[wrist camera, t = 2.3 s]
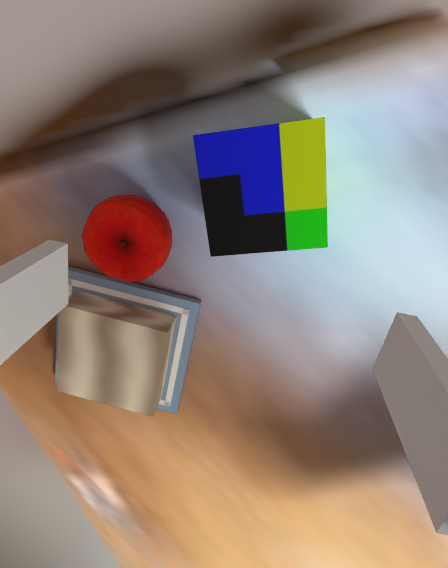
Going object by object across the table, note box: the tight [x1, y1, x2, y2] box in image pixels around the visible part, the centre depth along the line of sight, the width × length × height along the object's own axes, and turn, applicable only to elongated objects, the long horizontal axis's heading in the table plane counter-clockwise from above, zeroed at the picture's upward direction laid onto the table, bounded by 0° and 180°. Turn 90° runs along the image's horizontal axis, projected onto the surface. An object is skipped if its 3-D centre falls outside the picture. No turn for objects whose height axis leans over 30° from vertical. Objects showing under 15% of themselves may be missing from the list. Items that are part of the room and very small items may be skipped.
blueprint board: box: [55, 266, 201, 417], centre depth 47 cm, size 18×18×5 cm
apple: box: [82, 195, 172, 282], centre depth 39 cm, size 9×9×8 cm
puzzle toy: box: [193, 117, 328, 256], centre depth 34 cm, size 10×10×10 cm
